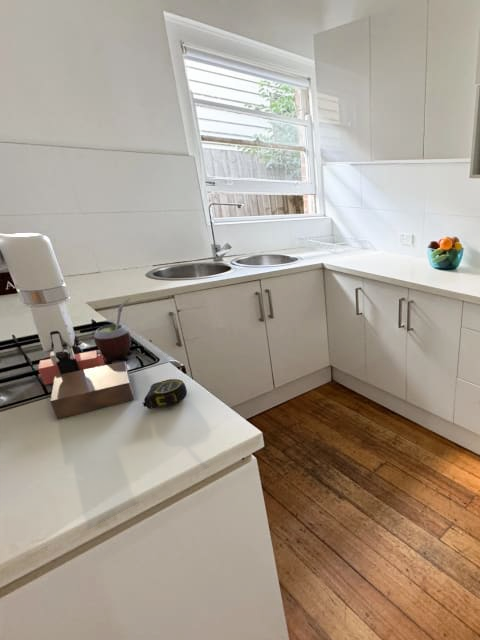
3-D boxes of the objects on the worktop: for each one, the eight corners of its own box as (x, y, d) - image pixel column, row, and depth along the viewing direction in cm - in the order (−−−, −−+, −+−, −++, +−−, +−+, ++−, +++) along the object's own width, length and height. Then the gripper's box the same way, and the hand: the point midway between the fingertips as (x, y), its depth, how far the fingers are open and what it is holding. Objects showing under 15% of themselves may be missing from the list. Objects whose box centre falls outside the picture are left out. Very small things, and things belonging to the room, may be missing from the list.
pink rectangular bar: (44, 385, 83) (34, 360, 80) (46, 376, 86) (36, 352, 84) (106, 371, 89) (98, 348, 87) (106, 364, 92) (98, 341, 90)
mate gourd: (94, 360, 94) (74, 302, 88) (126, 348, 101) (110, 294, 95) (115, 366, 92) (96, 307, 86) (146, 353, 98) (131, 297, 92)
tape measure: (155, 395, 80) (151, 380, 79) (191, 391, 82) (188, 375, 81) (145, 413, 74) (140, 396, 73) (184, 408, 76) (180, 392, 75)
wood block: (57, 419, 72) (49, 401, 70) (61, 392, 80) (54, 375, 79) (134, 399, 79) (128, 382, 77) (129, 376, 87) (125, 361, 86)
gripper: (25, 287, 84) (53, 360, 91) (13, 309, 71) (47, 390, 79) (69, 283, 88) (93, 352, 95) (66, 302, 76) (93, 380, 83)
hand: (72, 369), depth 87 cm, fingers open, 6 cm apart
